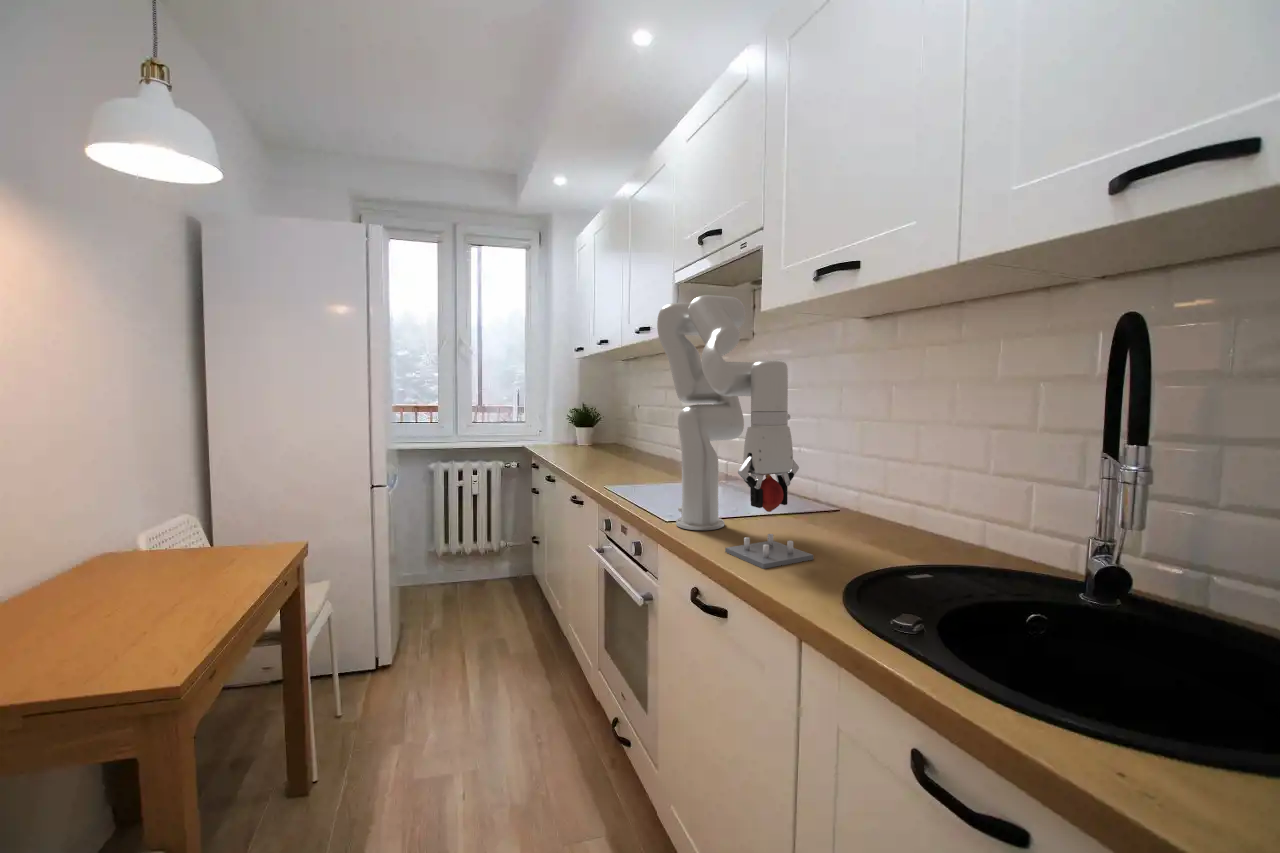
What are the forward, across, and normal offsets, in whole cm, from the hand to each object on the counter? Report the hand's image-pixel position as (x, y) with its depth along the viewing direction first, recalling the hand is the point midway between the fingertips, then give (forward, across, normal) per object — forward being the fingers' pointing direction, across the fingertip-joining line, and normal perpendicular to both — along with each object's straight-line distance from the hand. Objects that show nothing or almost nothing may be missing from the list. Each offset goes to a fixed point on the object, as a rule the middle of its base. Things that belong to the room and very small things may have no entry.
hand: (769, 504), depth 119 cm
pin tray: (+11, 0, 0) cm, 11 cm away
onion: (+2, 0, 0) cm, 2 cm away
